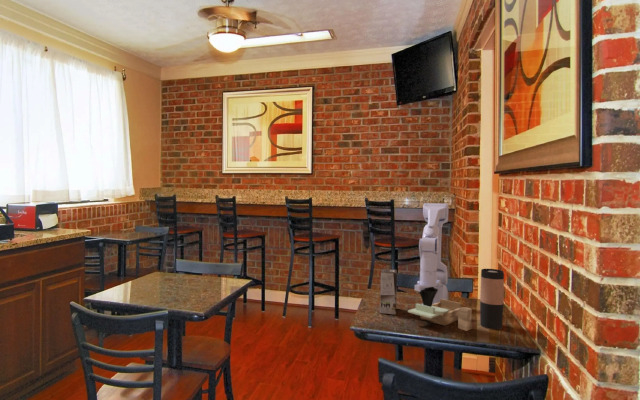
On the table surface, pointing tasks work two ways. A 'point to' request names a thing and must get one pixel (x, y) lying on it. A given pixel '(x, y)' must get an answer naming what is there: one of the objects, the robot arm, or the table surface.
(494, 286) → the travel mug
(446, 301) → the wooden box
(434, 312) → the cabinet door
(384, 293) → the coffee box
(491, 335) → the table surface
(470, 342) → the table surface
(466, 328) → the wooden block
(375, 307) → the table surface
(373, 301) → the table surface
